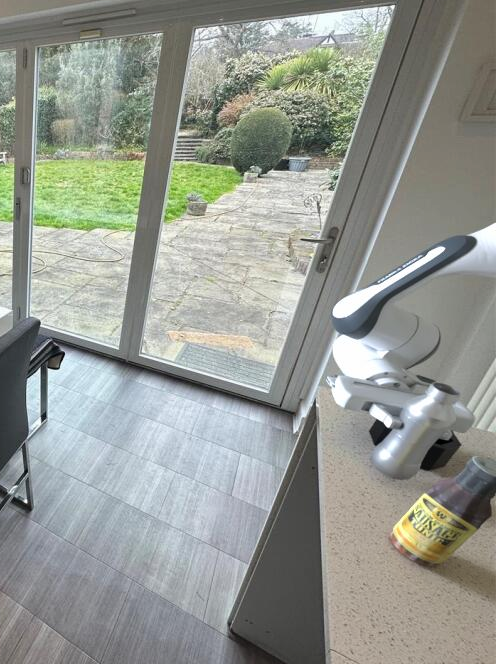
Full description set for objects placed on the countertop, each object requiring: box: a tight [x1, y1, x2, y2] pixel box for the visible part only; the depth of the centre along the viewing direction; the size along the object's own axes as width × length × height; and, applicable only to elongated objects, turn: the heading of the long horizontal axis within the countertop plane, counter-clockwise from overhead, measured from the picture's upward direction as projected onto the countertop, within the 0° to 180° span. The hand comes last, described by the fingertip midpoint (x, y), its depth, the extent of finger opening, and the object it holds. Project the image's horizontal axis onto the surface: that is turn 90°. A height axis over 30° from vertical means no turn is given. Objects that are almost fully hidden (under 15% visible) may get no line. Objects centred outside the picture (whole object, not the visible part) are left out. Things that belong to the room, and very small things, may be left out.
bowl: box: [368, 418, 462, 472], centre depth 84 cm, size 11×11×6 cm
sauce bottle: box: [389, 455, 496, 567], centre depth 61 cm, size 6×6×20 cm
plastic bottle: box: [370, 381, 462, 481], centre depth 74 cm, size 6×7×20 cm
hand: (420, 431), depth 72 cm, fingers closed on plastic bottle, 6 cm apart
